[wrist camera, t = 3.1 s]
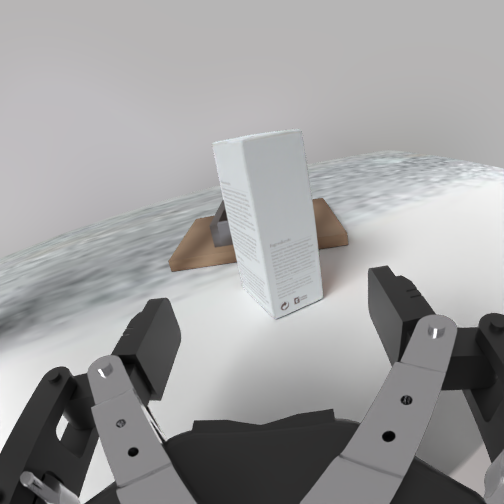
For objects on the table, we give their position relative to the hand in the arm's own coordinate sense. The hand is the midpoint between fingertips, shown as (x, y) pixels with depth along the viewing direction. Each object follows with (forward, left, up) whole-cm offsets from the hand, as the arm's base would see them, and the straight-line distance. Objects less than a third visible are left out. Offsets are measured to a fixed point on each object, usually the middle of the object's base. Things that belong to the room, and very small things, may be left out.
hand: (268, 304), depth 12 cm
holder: (-2, +25, -6) cm, 25 cm away
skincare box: (0, +11, -6) cm, 12 cm away
